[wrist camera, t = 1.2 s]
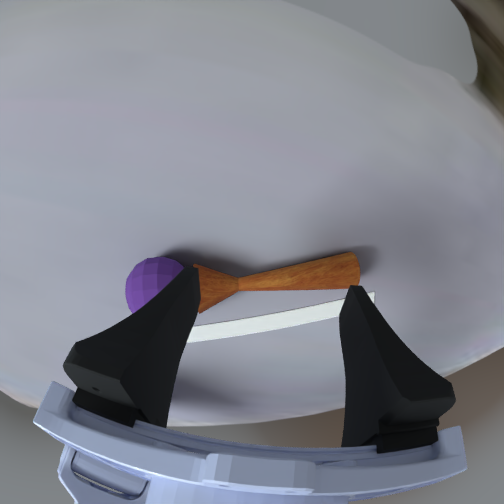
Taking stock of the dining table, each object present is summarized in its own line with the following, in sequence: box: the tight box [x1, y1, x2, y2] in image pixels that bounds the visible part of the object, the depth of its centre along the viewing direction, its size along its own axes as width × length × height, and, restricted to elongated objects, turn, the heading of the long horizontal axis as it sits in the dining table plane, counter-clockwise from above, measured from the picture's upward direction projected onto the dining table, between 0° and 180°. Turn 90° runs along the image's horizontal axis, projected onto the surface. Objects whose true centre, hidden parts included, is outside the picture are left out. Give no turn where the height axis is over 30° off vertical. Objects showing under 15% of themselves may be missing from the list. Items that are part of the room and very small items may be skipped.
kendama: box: [125, 252, 360, 314], centre depth 24 cm, size 6×6×20 cm
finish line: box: [187, 292, 375, 343], centre depth 28 cm, size 26×2×1 cm, turn 100°
